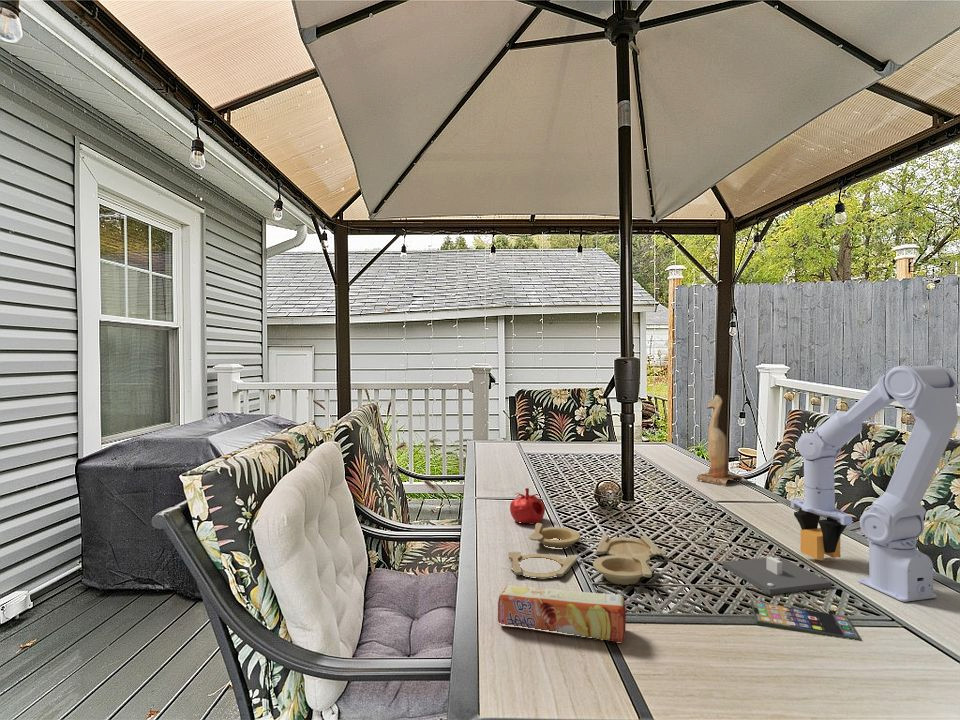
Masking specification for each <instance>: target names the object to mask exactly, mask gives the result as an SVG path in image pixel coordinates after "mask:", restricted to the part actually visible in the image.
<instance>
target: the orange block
mask: <svg viewBox="0 0 960 720" xmlns="http://www.w3.org/2000/svg"><path fill="white" fill-rule="evenodd" d="M800 553H802V554H804V555H806V556H809V557H811V558H813V559H815V560H824V559H825V555H827V556H828V557H830V558H834V559H835V558H841V537H840V538H839V541H838V543H837V547H836V550H835V552H832V553H826V552H825V550H824V544H823V535H822V531H821V527H819V528H816V529H805V530H802V529H800Z"/></svg>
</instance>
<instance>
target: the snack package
mask: <svg viewBox="0 0 960 720" xmlns="http://www.w3.org/2000/svg"><path fill="white" fill-rule="evenodd" d="M497 602H498V603H497V622H498V624H499V623H501V624H505V625H514V626H522V627H528V628H535V629H541V630H549V631H557V632H562V633H567V634H574V635H579V636H585V637H592V638H598V639H604V640H610V641H615V642H622V643H624V641H625V637H626V619H627V617H626V616H627V613H626V612H627V611H626V604H625V603H626V602H625V598H624V596H623V595H621V594H610V593H599V592H589V591H588V592H586V591H575V590H572V591H571V590H564V589H554V588H552V589H551V588H541V587H530V586H529V587H528V586H526V587H525V586H516V585H510V584H505V585H504V586H503V588H502V590H501V591H500V593H499V596H498V601H497ZM615 642H614V643H615Z"/></svg>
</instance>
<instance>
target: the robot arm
mask: <svg viewBox="0 0 960 720" xmlns="http://www.w3.org/2000/svg"><path fill="white" fill-rule="evenodd" d="M958 388H959V383H958V382H957V381H956V379H955V378H954V376H953V375H952V374H951V372H949V370H948V369H946V368H945V367H943V366H941V365H938V364H937V365H936V364H929V365H918V366H917V365H916V366H915V365H913V366H912V365H910V366H908V365H898V366H894V367H893V368H891V369H890V370H889V371H887V373H886V374H884V375H881V376H880V377H879V378H878V380H877V383H876V384H875V385H874V386H872V388H871V389H870V390H868V391H867V393H865V394H864V395H863V396H862V397H861V398H860V399H859V400H858V401H857V402H856V403H854V405H853V406H852V407H851V408H849V409H848V410H847V411H845V410H839V411H835V412H831V413H830V414H828V417H829V418H828V419H827V420H826V421H824V422H823V423H822V424H821V425H817V426H816V427H814V430H813V432H805V433H802V434H801V436H800V437H799V438H798V440H797V444H796V446H797V451H798V452H799V454H800V455H801V456H802V457H803V487H804V488H803V489H804V491H803V493H804V499H802V498H798V497H797V498H796V497H795V498H790V508H794V509H798V511H794V512H793V515H794V517H795V519H796V521H797V522H798V524H799V526H800V528H801V529H800V530H805V529H816V528H818V526H819V528H821V531H822V535H823V544H824V550H825V552H826V553H832V552H835V550H836V547H837V543H838V541H839V538H840V539H841V535H842V533H843V532H844V531H845V529H846V528H847V526H851V525H853V515H851V514H849V513H846V512H845V511H842V510H840V509H838V508H837V507H836V500H835V499H836V492H835V491H836V488H835V466H836V464H837V463H836V462H837V457H838V456H840V453H841V449H842V447H844V445H846V444H847V443H849V442H850V441H851V440H853V439H854V438H855V437H856V436H858V435H859V434H861V433H862V431H863V423H864V422H866V421H868V420H869V419H870V418H871V417H873V416H874V415H876V414H878V413H879V412H880V411H883V409H885V408H886V407H888V406H890V405H891V404H892V403H894V402H898V403H899V404H900V405H901V406H902V407H903V408H905V410H907V412H909V413H910V414H911V416H912V417H913V418H914V420H915V423H914V425H913V427H912V429H911V431H910V435H909V437H908V438H907V441H906V443H905V444H904V445H905V446H904V449H903V450H902V452H901V455H900V457H899V459H898V462H897V463H896V464H897V465H896V466H895V468H894V470H893V473H892V475H891V478H890V481H889V483H888V484H887V488H886V489H885V492H884V493H883V494H882V495H880V496H879V497H878V498H876V499H875V500H873V502H872V504H871V506H870V508H868V510H866V511H864V512H863V513H862V514H861V515H860V518H859V527H860V530H861V531H862V533H863V535H864V536H865V537H866V538H867V542H868V560H869V561H868V562H869V563H868V565H869V567H868V569H869V571H868V572H869V573H868V574H869V575H868V576H869V577H862V578H858V579H857V581H858V582H859V583H861V584H864V585H866V586H867V587H870V588H872V589H874V590H876V591H878V592H881V593H883V594H884V595H887V596H889V597H891V598H894V599H896V600H899V601H901V602H906V603H907V602H911V601H920V600H929V599H936V598H937V597H938V595H937V594H935V593H934V565H933V561H932V560H931V558H930V556H929V555H928V554H925V553H923V552H922V551H920V550H919V549H918V548H917V541H918V538H920V536H921V535H923V533H924V531H925V522H924V518H925V514H926V513H927V510H926V508H925V507H924V506H923V505H922V504H921V503H922V500H923V499H924V496H925V494H926V493H927V490H928V488H929V485H930V483H931V481H932V479H933V477H934V474H935V472H936V470H937V468H938V467H939V464H940V462H941V460H942V457H943V455H944V453H945V451H946V449H947V446H948V445H949V442H950V440H951V438H952V435H953V434H954V431H955V429H956V427H957V426H958V425H957V424H958V421H959V414H958V405H957V400H956V398H957V397H956V392H957V390H958ZM821 517H822V518H826V519H821Z"/></svg>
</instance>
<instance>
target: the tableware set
mask: <svg viewBox="0 0 960 720" xmlns="http://www.w3.org/2000/svg"><path fill="white" fill-rule="evenodd" d="M534 525H535V527H534V532H533V533H530V534H529V535H528V539H529V540H531V541H537V542H539V543H541V545H542V544H543V545H545V546H548V547H555V548H566V547H569V546H572V545H573V544H575V543H577V542H578V541H580V540H581V534H580V532H579V531H576V530H575V529H571V528H566V527H560V526H551V527H550V526H549V527H543V523H541V522H539V523H536V524H534ZM609 537H610V536H609V535H608V534H607V535H606V534H603V535H602V536H601V538H600V541H599V543H598V546H597V549H596V550H595V553H596V554H597V555H604V554H605V556H600V557H598V558H596V559H595V560H594V561H593V563H592V565H593V566H592V567H593V568H594V570H595V571H596V572H598V573H600V574H601V575H603V577H604V579H605V578H606V581H608V582H609V583H612V584H615V585H620V584H621V585H622V586H625V585H626V586H629V584H631V585H634V584H637V583H638V582H639V580H640V579H641V578H642V577H645V578H652V576H653V573H652V570H651V566H650V564H649V562H650V560H651V558H653V557H655V556H657V555H658V556H666V555H667V552H666V551H664V550H663V549H662V548H660V547H657V546H656V545H655V544H654V543H653V542H652V541H651V539H650V538H649V537H648V536H646V535H641V536H640V538H634V537H625V536H623V537H611V538H609ZM553 538H557V539H561V540H550V539H553ZM543 545H542V546H543ZM569 548H570V547H569ZM507 555H508V559H509V560H511V561H512V562H511V561H510V563H511V568H513V570H514V572H513V575H516V576H520V575H525V576H529V577H536V578H550V577H554V576H558V577H557V578H560V577H564V576H565V575H566V574H568V573H569V572H568V571H570V570H571V567H572V566H573V565H574V564H575V563H576V562H577V561H578V560H579V556H578V555H575V554H571V555H568V556H566V557H565V558H562V557H560V556H557V555H553V554H545V553H531V554H530V553H528V554H523V555H522V553H521V551H508V552H507ZM528 558H546V559H550V560H554V561H556V562H558V563H559V564H560V565H561V568H560V569H559V570H557V571H554V572H549V573H533V572H528V571H525V570H523V569H522V568H521V567H520V564H519V562H521V561H522V560H525V559H528ZM567 572H568V573H567ZM565 573H566V574H565ZM564 574H565V575H564Z"/></svg>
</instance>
